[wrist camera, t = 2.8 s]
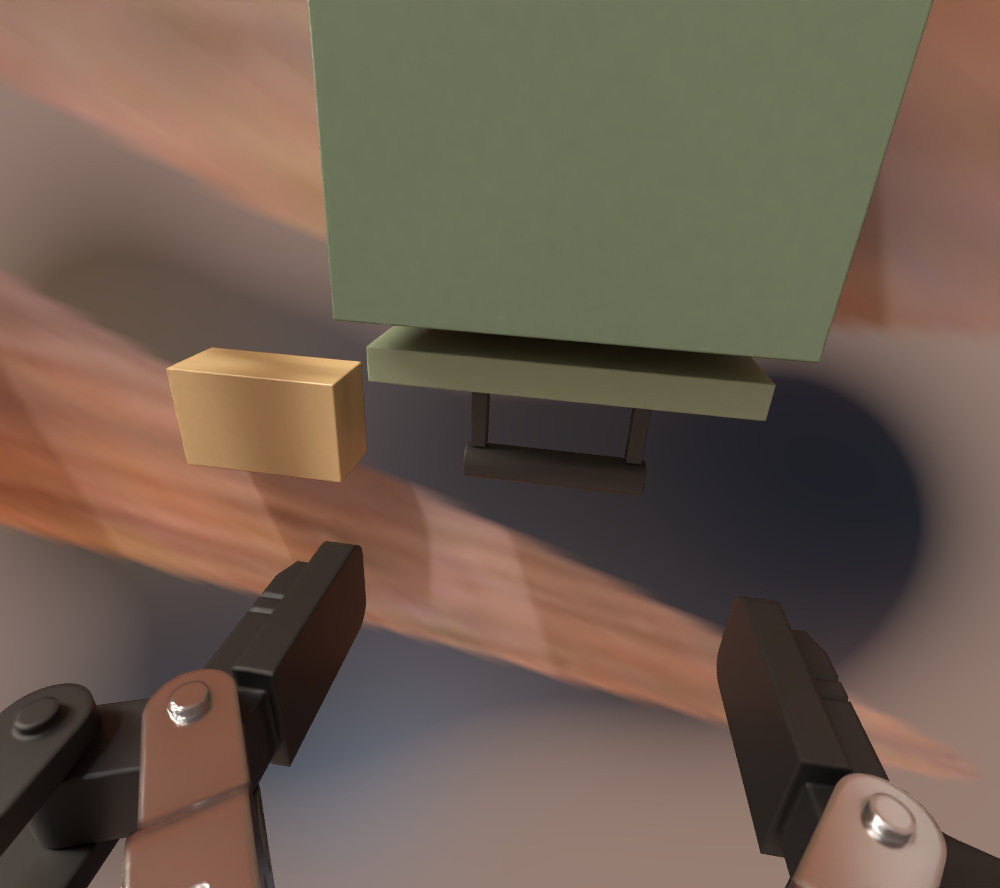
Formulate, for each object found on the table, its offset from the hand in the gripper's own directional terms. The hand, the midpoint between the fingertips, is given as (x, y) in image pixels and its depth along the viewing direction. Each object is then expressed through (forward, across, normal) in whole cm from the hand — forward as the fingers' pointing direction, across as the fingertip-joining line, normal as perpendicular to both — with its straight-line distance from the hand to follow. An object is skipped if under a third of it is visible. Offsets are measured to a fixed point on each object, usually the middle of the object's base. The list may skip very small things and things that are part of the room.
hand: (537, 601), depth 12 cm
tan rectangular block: (+16, +14, +3) cm, 22 cm away
